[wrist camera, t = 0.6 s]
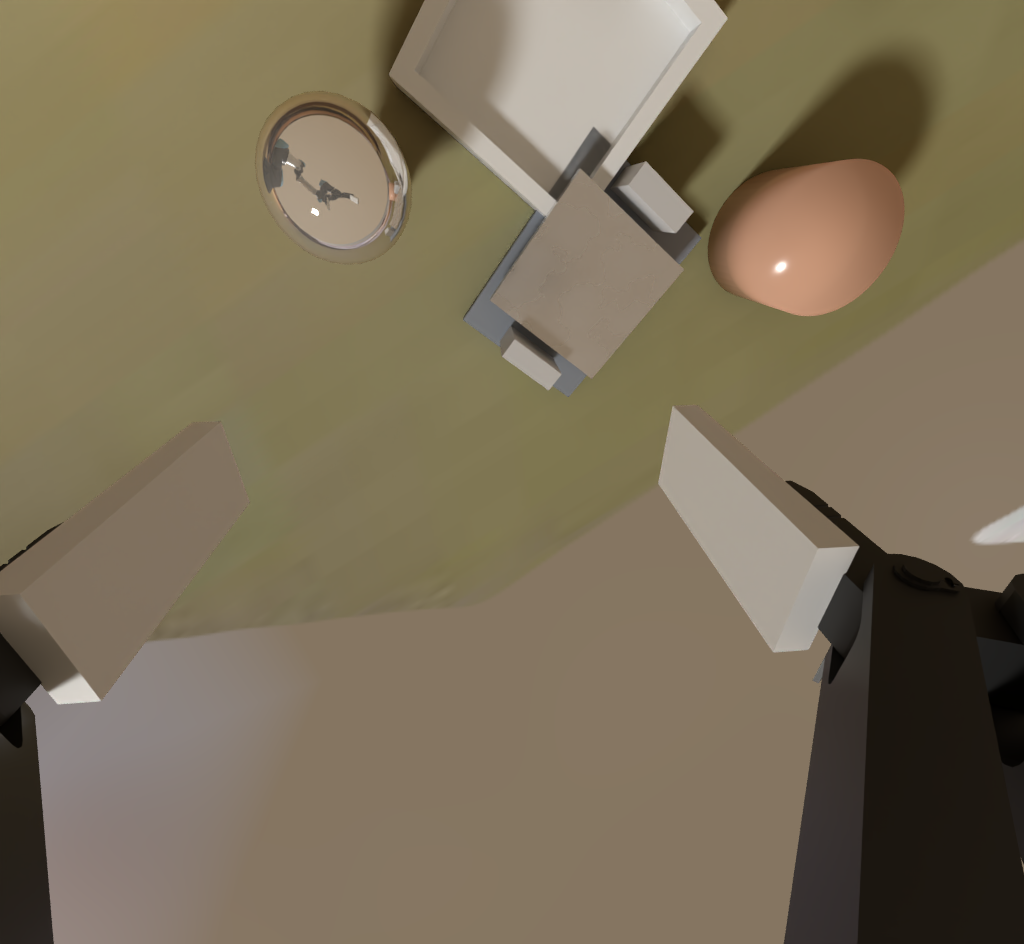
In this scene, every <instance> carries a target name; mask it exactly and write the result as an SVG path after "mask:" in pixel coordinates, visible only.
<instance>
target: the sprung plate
mask: <svg viewBox="0 0 1024 944" xmlns="http://www.w3.org/2000/svg"><path fill="white" fill-rule="evenodd" d="M683 270H684V269H683V268H682V267H681V266H680V265H679V264H678V263H677V262H676V261H675V260H674V259H673V258H672V257H671V256H670V255H669V254H668V253H667V252H665V251H664V250H663V249H662V248H661V247H660V246H659V245H658V244H657V243H656V242H655V241H654V240H653V239H652V238H651V237H650V236H649V235H648V234H647V233H646V232H645V231H644V230H643V229H642V228H641V227H640V226H639V225H638V224H637V223H636V222H635V221H634V220H633V219H632V218H631V217H630V216H629V215H628V214H627V213H626V212H625V211H624V210H623V209H622V208H621V207H620V206H618V205H617V204H616V203H615V202H614V201H613V200H612V199H611V198H610V197H609V196H608V195H607V194H606V193H605V192H604V191H603V190H602V189H601V188H600V187H599V186H598V185H597V184H596V183H595V182H594V181H593V180H592V179H591V178H590V177H589V176H588V175H587V174H586V173H585V172H584V171H583V170H582V169H579V170H577V171H576V173H575V174H574V176H573V177H572V179H571V180H570V182H569V183H568V184H567V186H566V187H565V189H564V190H563V192H562V193H561V195H560V196H559V198H558V199H557V201H556V202H555V203H554V205H553V206H552V208H551V209H550V211H549V212H548V214H547V215H546V217H545V218H544V220H543V221H542V222H541V224H540V225H539V227H538V228H537V230H536V231H535V233H534V234H533V236H532V237H531V239H530V240H529V241H528V243H527V244H526V246H525V247H524V249H523V250H522V252H521V253H520V255H519V256H518V258H517V259H516V260H515V262H514V263H513V265H512V266H511V268H510V269H509V271H508V272H507V274H506V275H505V277H504V278H503V279H502V281H501V282H500V284H499V285H498V287H497V288H496V290H495V291H494V293H493V294H492V295H491V297H490V301H491V302H493V303H494V304H495V305H497V306H498V307H499V308H500V309H502V310H503V311H504V312H506V313H507V314H508V315H510V316H511V317H512V318H513V319H515V320H516V321H517V322H519V323H520V324H521V325H522V326H524V327H525V328H526V329H528V330H529V331H530V332H532V333H533V334H534V335H535V336H537V337H538V338H539V339H541V340H542V341H543V342H545V343H546V344H547V345H548V346H550V347H551V348H552V349H554V350H555V351H556V352H558V353H559V354H560V355H561V356H563V357H564V358H565V359H567V360H568V361H569V362H570V363H572V364H573V365H574V366H576V367H577V368H578V369H580V370H581V371H582V372H583V373H585V374H586V375H587V376H589V377H590V378H591V379H592V378H593V377H594V376H595V374H596V373H597V372H598V371H599V370H600V368H601V367H602V366H603V365H604V364H605V363H606V361H607V360H608V359H609V358H610V357H611V355H612V354H613V353H614V352H615V351H616V350H617V348H618V347H619V346H620V345H621V344H622V342H623V341H624V340H625V339H626V338H627V337H628V335H629V334H630V333H631V332H632V331H633V329H634V328H635V327H636V326H637V325H638V323H639V322H640V321H641V320H642V319H643V318H644V316H645V315H646V314H647V313H648V312H649V310H650V309H651V308H652V307H653V306H654V305H655V303H656V302H657V301H658V300H659V299H660V297H661V296H662V295H663V294H664V293H665V292H666V290H667V289H668V288H669V287H670V286H671V284H672V283H673V282H674V281H675V280H676V279H677V277H678V276H679V275H680V274H681V273H682V271H683Z"/></svg>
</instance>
